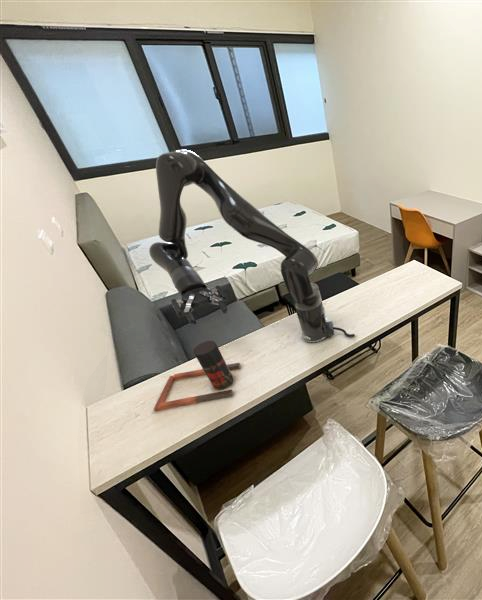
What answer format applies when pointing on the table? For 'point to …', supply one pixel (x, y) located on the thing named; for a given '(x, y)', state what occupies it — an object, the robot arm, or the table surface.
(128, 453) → the table surface
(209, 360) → the deodorant
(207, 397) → the brown angled rods
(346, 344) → the table surface
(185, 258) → the robot arm
